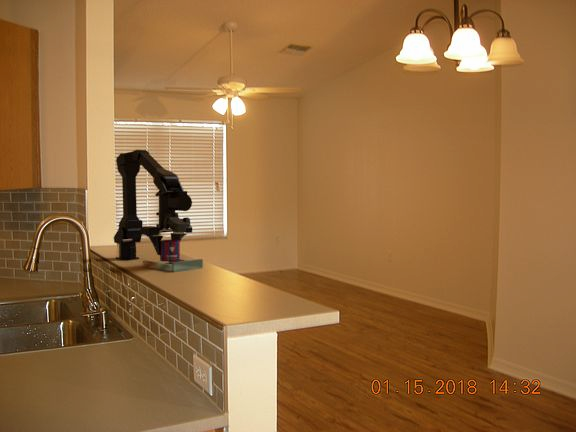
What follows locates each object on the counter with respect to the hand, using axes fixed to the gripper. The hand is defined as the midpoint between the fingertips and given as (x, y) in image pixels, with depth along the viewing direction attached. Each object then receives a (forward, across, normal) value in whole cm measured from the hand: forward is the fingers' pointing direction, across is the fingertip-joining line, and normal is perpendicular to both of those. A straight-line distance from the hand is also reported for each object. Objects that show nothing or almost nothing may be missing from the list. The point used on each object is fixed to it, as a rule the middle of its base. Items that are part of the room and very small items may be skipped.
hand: (166, 254), depth 197 cm
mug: (+2, +1, 0) cm, 2 cm away
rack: (+4, 0, -3) cm, 5 cm away
